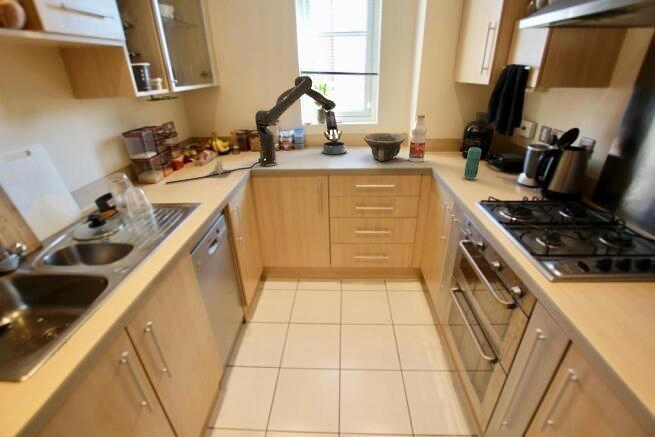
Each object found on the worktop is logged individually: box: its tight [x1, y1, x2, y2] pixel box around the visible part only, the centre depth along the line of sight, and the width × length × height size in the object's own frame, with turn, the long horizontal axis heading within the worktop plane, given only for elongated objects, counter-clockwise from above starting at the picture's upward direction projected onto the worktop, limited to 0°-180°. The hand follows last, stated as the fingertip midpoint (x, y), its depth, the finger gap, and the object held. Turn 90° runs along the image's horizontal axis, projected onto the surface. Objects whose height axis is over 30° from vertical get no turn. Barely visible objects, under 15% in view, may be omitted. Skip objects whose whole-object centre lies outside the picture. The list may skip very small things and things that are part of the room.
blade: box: [332, 135, 337, 146], centre depth 227 cm, size 3×5×10 cm, turn 9°
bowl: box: [363, 132, 406, 162], centre depth 207 cm, size 27×26×15 cm
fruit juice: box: [408, 114, 428, 163], centre depth 199 cm, size 9×9×28 cm
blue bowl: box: [322, 141, 347, 155], centre depth 229 cm, size 17×17×6 cm
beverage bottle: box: [463, 140, 483, 179], centre depth 164 cm, size 6×7×20 cm
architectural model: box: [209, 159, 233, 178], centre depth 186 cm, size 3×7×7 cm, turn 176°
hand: (334, 143), depth 226 cm, fingers closed on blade, 2 cm apart
